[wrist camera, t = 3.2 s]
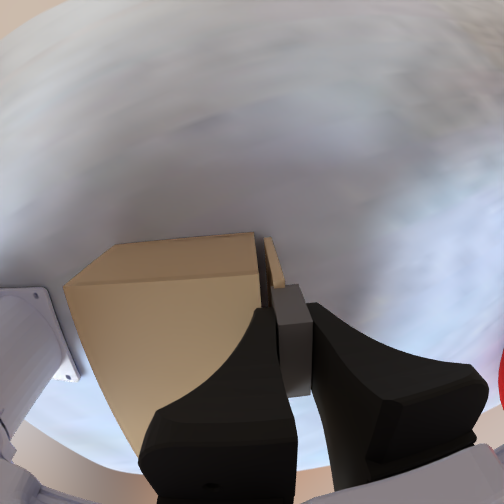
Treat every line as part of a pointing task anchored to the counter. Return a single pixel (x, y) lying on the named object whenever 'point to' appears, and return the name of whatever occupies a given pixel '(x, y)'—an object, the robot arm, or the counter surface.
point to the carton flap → (289, 326)
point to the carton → (162, 319)
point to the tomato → (501, 380)
